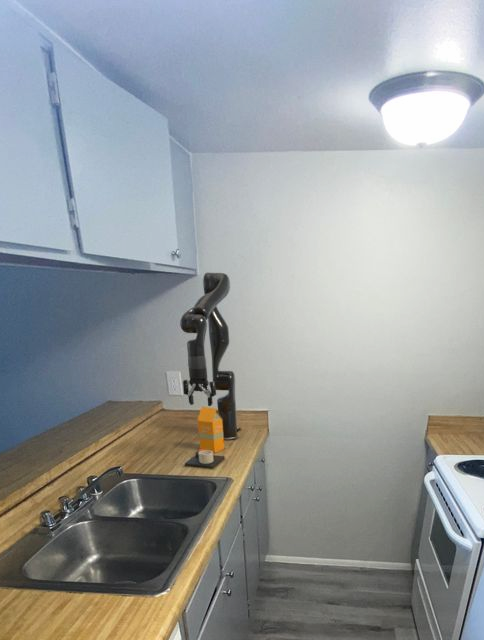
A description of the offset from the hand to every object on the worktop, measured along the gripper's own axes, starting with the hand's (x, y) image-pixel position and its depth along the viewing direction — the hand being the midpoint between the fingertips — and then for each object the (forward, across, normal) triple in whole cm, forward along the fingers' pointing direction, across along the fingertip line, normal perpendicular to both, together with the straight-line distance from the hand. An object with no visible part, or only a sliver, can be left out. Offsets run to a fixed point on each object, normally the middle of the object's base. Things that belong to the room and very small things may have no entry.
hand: (200, 405), depth 207 cm
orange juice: (+24, +1, -11) cm, 26 cm away
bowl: (+22, -6, +11) cm, 25 cm away
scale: (+23, -4, +8) cm, 25 cm away
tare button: (+21, 0, +4) cm, 21 cm away
